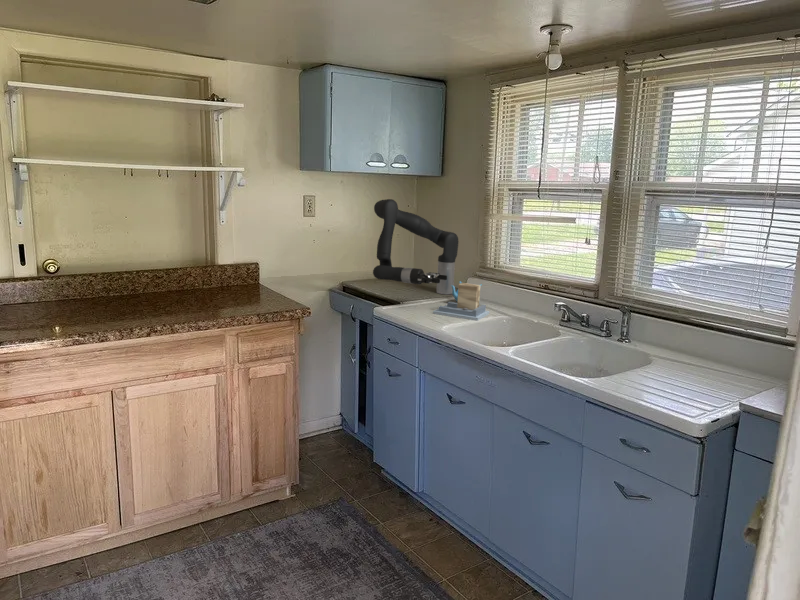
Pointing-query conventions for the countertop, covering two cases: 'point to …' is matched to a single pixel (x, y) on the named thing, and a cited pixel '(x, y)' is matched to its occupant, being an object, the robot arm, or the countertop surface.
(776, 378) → the countertop surface
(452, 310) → the grey stepped platform
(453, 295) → the teapot
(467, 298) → the wooden block
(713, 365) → the countertop surface
